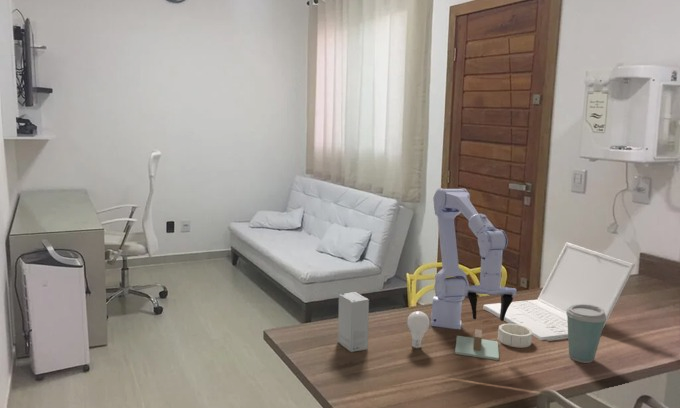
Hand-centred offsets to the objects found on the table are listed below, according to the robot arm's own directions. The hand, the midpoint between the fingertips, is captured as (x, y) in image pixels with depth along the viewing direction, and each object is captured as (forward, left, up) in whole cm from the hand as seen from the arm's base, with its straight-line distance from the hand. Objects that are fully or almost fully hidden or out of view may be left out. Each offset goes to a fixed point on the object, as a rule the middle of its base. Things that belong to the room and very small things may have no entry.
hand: (488, 319), depth 163 cm
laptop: (+23, +36, -10) cm, 43 cm away
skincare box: (-37, -10, -10) cm, 40 cm away
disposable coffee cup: (+27, +5, -10) cm, 29 cm away
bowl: (+9, +10, -10) cm, 17 cm away
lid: (-2, 0, -9) cm, 10 cm away
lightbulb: (-19, -5, -10) cm, 22 cm away
